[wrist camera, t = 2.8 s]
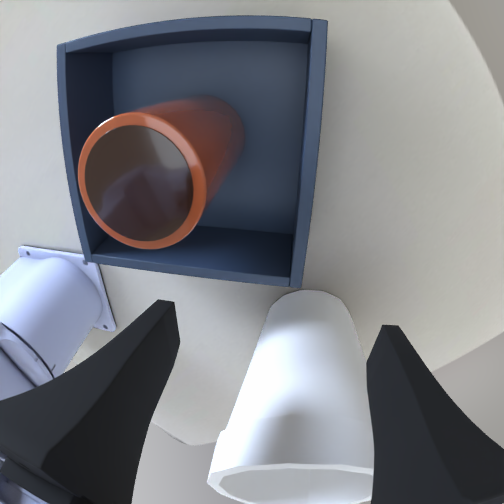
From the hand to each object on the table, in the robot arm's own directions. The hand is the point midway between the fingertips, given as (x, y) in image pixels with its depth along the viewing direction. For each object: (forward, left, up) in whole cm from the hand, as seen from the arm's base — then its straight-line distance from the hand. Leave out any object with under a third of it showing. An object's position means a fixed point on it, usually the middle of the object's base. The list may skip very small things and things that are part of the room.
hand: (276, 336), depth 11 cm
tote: (-5, +5, -10) cm, 12 cm away
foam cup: (+2, -8, -10) cm, 13 cm away
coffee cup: (-5, +5, -9) cm, 12 cm away
